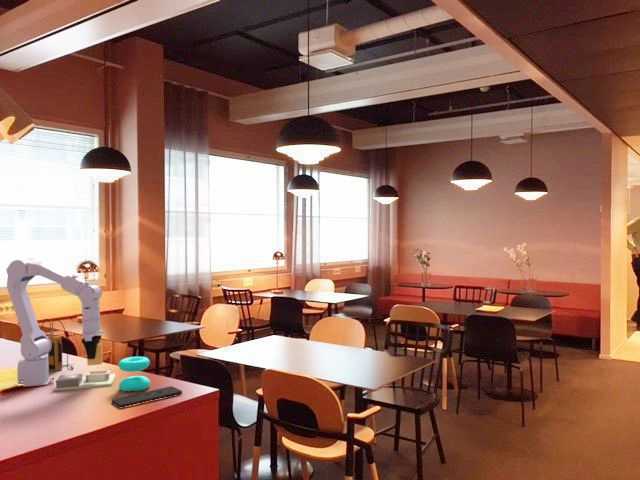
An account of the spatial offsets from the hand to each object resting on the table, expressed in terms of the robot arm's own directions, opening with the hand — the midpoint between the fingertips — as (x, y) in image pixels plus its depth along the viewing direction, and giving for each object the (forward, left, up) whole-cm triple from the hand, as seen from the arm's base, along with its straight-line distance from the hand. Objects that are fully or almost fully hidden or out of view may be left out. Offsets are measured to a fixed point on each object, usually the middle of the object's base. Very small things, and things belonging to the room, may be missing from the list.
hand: (92, 357), depth 191 cm
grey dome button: (-7, -2, -9) cm, 12 cm away
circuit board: (-2, +1, -9) cm, 9 cm away
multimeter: (-16, +28, -9) cm, 34 cm away
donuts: (+15, -12, -9) cm, 21 cm away
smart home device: (+20, -25, -10) cm, 33 cm away
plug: (+1, 0, -2) cm, 2 cm away
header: (+1, +3, -9) cm, 9 cm away
